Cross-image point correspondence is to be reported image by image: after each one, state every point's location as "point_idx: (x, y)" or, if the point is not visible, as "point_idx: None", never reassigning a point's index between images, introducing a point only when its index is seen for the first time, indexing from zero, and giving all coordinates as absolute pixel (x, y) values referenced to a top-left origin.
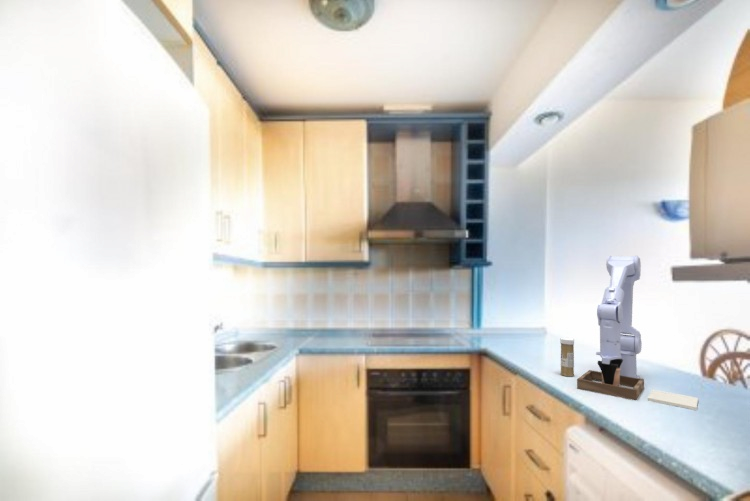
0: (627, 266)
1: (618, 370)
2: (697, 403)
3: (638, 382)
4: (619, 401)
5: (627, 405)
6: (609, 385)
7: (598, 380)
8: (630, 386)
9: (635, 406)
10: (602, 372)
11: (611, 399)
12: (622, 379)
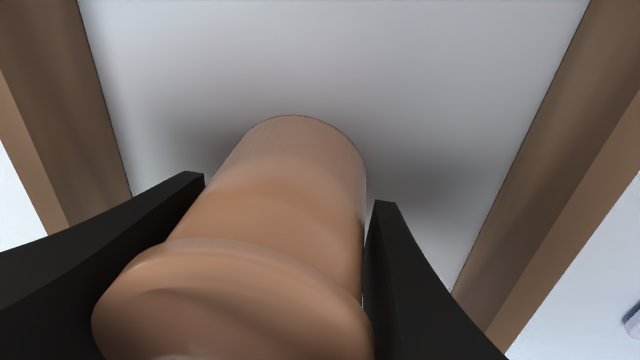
0: None
1: None
2: None
3: None
4: (31, 217)
5: (7, 245)
6: (44, 219)
7: (562, 68)
8: (453, 289)
9: None
10: (60, 236)
11: (20, 182)
12: (484, 291)
